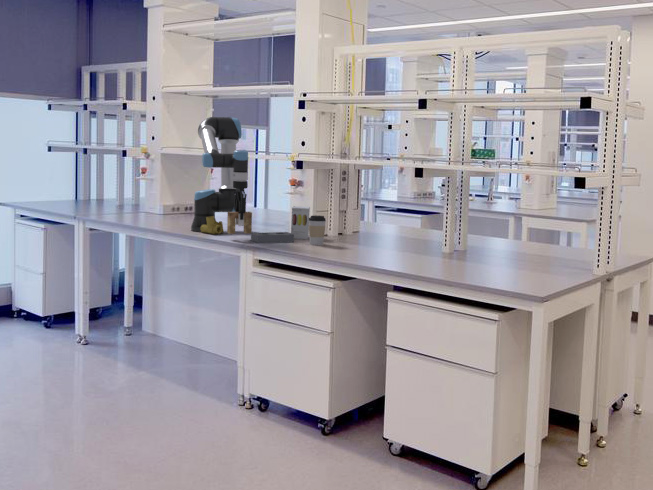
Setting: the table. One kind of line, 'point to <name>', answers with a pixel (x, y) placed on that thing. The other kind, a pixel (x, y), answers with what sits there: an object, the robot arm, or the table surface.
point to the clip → (231, 222)
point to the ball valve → (212, 226)
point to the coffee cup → (316, 230)
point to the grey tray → (272, 237)
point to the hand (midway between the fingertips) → (239, 225)
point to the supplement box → (300, 222)
